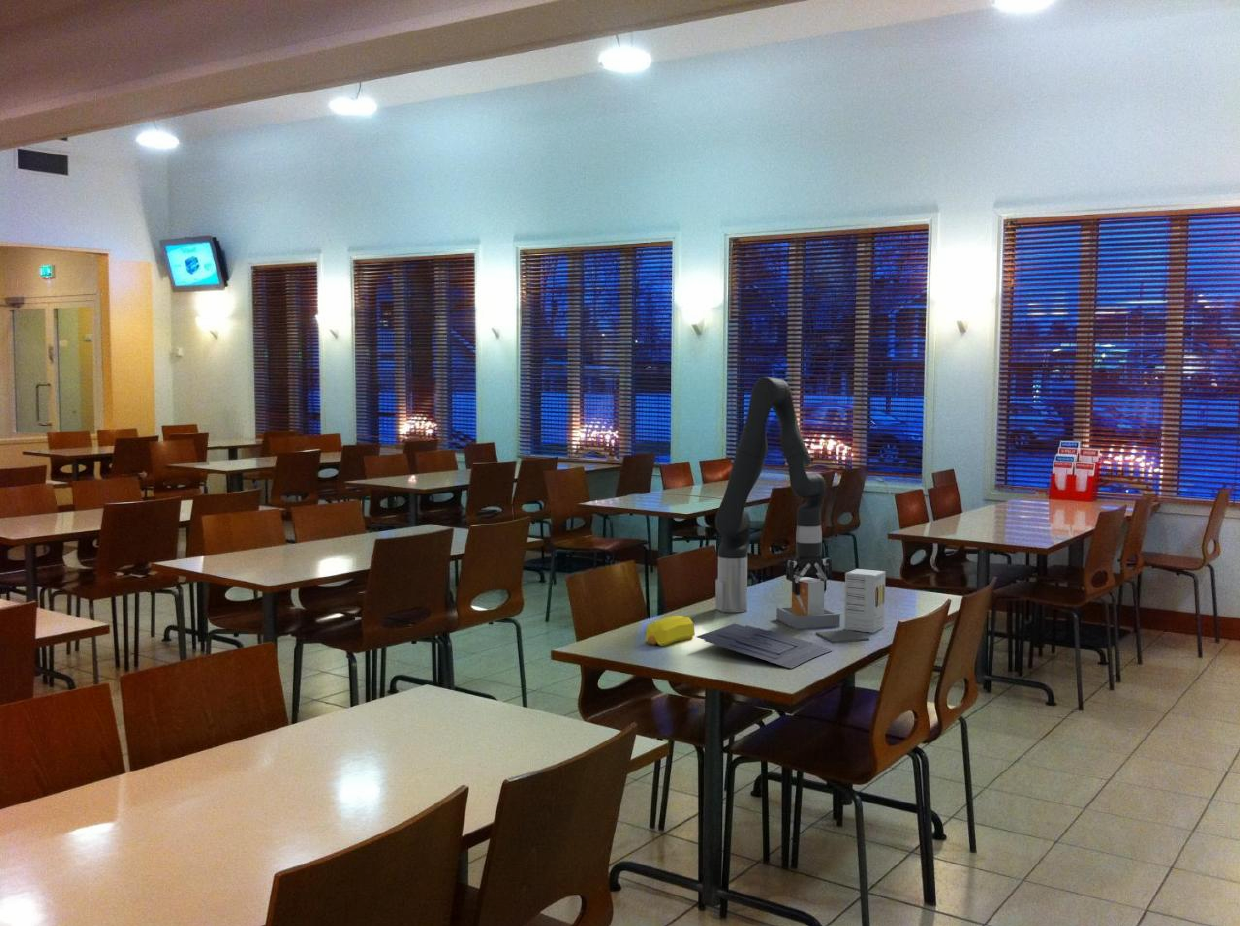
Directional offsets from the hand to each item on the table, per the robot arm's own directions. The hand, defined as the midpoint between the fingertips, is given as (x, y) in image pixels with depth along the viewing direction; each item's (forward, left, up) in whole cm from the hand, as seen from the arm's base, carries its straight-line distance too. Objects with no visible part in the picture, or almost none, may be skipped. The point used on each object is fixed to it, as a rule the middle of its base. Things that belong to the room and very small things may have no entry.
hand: (809, 593), depth 329 cm
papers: (-28, -29, -9) cm, 41 cm away
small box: (-1, 0, -9) cm, 9 cm away
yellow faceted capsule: (-48, -10, -9) cm, 49 cm away
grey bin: (-1, 0, -9) cm, 9 cm away
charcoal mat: (0, -20, -9) cm, 22 cm away
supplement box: (+12, -12, -9) cm, 19 cm away
